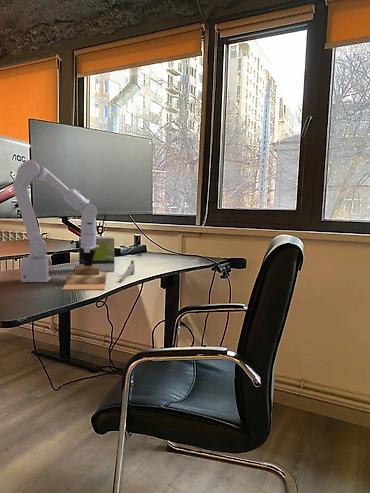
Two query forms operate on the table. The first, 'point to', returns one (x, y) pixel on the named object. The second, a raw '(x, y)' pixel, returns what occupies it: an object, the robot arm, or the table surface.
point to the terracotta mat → (84, 287)
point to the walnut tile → (86, 270)
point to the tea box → (101, 254)
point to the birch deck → (86, 278)
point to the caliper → (128, 271)
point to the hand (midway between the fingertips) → (88, 268)
